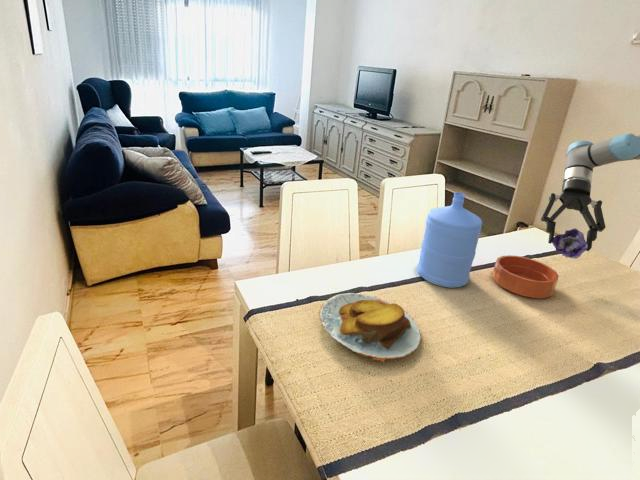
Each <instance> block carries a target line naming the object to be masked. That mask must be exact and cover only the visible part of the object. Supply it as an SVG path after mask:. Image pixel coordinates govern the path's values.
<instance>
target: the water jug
mask: <svg viewBox="0 0 640 480" xmlns="http://www.w3.org/2000/svg"><path fill="white" fill-rule="evenodd" d="M465 197H466V194H465V193H463V192H454V193H453V197H452V202H451V205H446V206H440V207H435V208H432V209H430V210H429V211H428V213H427V216H426V219H425V229H424V234H423V239H422V241H421V247H420V249H421V250H420V254H419V258H418V262H417V267H416V269H417V273H418V275H420V277H421V278H422V279H424V280H425V281H427V282H429V283H431V284H432V285H435V286H438V287H443V288H448V289H449V288H453V289H454V288H455V289H456V288H461V287H464V286H466V285H467V284H468V283H469V280H470V276H471V271H472V266H473V262H474V259H475V256H476V253H477V252H476V250H477V245H478V242H479V238H480V235H481V233H482V226H483V220H482V219H481V218H480V217H479V216H478V215H476V214H475V213H473V212H471V211H469V210H468V209H466V208H464V203H465Z"/></svg>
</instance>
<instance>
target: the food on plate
mask: <svg viewBox="0 0 640 480" xmlns="http://www.w3.org/2000/svg"><path fill="white" fill-rule="evenodd" d="M318 317H319V321H320V322H321V324H322V325H321V326H323V327H324V330H325V331H326V332H327V333H328V334H329V335H330V337H331V338H333V339H334V340H336V341H337V342H338V343H339V344H342V345H343V346H345V347H346V348H347V349H350V350H351V352H353V353H354V352H355V353H357V355H360V356H363V357H371V359H372V360H373V361H379V360H380V362H385V360H389V361H390V360H394V359H399V358H400V359H401V358H405V357H408V356H409V355H410V354H413V353H414V352H415V351H416V349H417V348H418V347H419V346H420V341H421V340H422V338H421V336H422V335H421V334H420V333H421V330H420V329H419V328H418V325H417V324H416V322H415V320H414V318H412V316H410V315H409V314H408V312H407V311H405V310H404V308H402V306H400V305H399V304H397V303H391V302H388V301H385V300H383V299H382V298H380V297H379V298H378V297H377V296H374V295H370V294H363V293H356V292H348V293H339V294H335V295H333V296H331V297H329V298H327V300H325V302H323V303H322V304H321V306H320V309H319V311H318Z"/></svg>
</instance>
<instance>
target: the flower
mask: <svg viewBox="0 0 640 480" xmlns="http://www.w3.org/2000/svg"><path fill="white" fill-rule="evenodd" d="M584 235H585V234H584V233H583V232H582V231H581V230H578V229H577V227H576V228H572V229H569V230H565V232H564V233H560V234H556V235H554V239H553V242H552V243H551V244H552V246H553V247H554V248H555V253H558V254H561V256H562V257H565V258H569V259H579V258H580V257H581V256H582V254H583V253H584V252H586V251H585V250H586V249H587V248H588V244H587V243H586V241H587V240H586V239H585V236H584Z"/></svg>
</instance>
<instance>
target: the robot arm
mask: <svg viewBox="0 0 640 480" xmlns="http://www.w3.org/2000/svg"><path fill="white" fill-rule="evenodd" d="M566 151H567V152H566V154H565V165H564V166H565V167H564V168H565V169H564V171H563V172H564V173H563V179H562V185H561V193H560V194H555V193H554V192H551V193H550V195H549V197H548V203H547V205H546V207H545V209H544V211H543V214H542V216H541V218H540V221H541V222H545V223H546V228H545V232H546V233H548V235H549V236H548V241H547V243H548V244H552V242H553V239H554V237H555V232H556V225H557V221H555V220H556V219H557V218H558V217H560V215H561V214H562V213H563V212H564V211H565V210H566V209H567V210H574V211H577V212H579V214H580V215H582V218H583V219H584V221H585V223H586V225H587V228H588V231H587V233H586V240H585V241H586V243H587V244H588V248H587V249H586V250H585V251H584V252H589V251H590V250H591V249H592V248H593V242H595V241H596V240H597V238H598V232H599V233H601V232H603V231H604V230H605V229H606V223H605V218H604V214H603V210H602V205H603V200H600V199H598V200H597V201H596V200H593V199H592V198H591V192H592V191H591V190H592V182H593V172H594V169H595V168H598V167H602V166H605V165H609V164H613V163H617V162H625V161H633V160H635V161H636V160H640V134H638V135H635V134H634V133H632V132H631V133H624V134H621V135H618V134H617V135H616V136H615V137H611V138H608V139H605V140H602V141H599V142H595V143H593V142H591V141H589V140H581V141H580V140H578V141H574V142H573V143H570V144H569V146H568V147H567V150H566ZM557 201H559V202H561V205H560V206H559V207H558V209H557V210H556V211H554V213H553V214H551V216H549V214H550V212H551V210H552V208H553V207H554V204H555V202H557ZM589 205H591V208H592V209H593V214H594V217H593V215H592V214H591V212H590V210H589V209H590V208H589Z"/></svg>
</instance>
